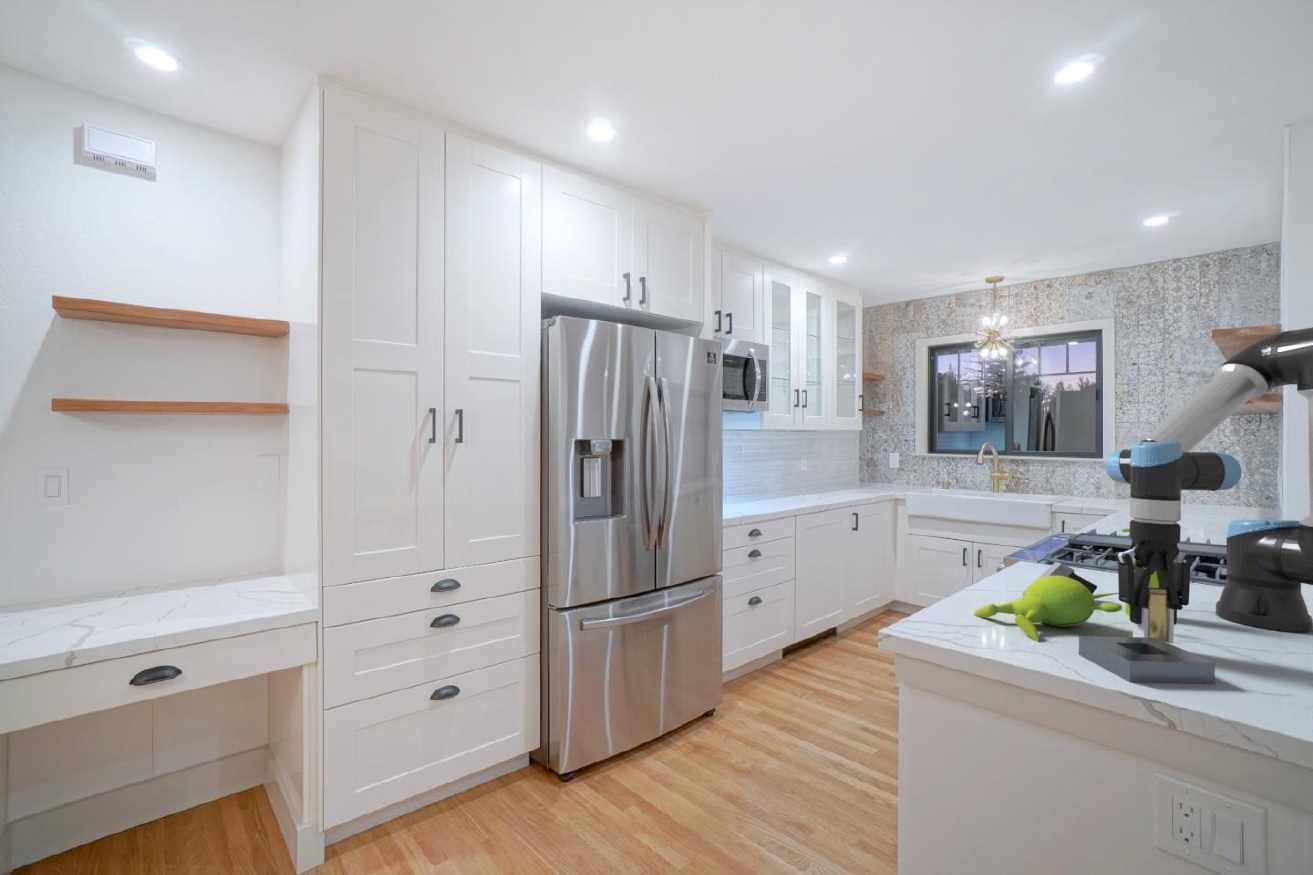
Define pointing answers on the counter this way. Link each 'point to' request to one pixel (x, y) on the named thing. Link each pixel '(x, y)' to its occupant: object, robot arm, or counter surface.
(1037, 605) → the toy
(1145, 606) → the gold metallic cylinder
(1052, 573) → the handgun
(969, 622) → the counter surface
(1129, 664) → the jig
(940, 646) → the counter surface
